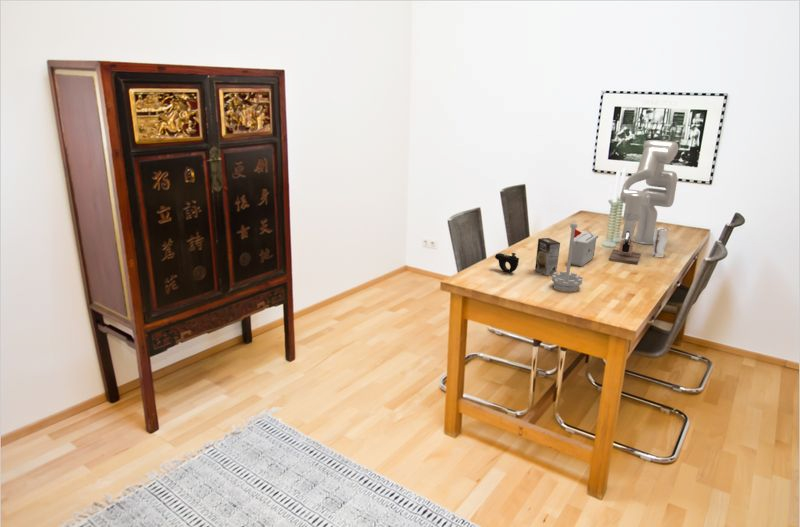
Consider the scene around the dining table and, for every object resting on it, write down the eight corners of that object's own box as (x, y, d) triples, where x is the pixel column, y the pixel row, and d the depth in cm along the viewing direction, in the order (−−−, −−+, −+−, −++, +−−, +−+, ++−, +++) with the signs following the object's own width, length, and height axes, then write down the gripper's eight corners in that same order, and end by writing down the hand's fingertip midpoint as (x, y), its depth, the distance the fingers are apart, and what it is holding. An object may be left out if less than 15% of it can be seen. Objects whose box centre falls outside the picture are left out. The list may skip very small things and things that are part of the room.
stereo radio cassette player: (580, 255, 296) (585, 218, 290) (595, 258, 292) (600, 221, 286) (566, 264, 280) (571, 226, 274) (583, 268, 276) (588, 229, 269)
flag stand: (563, 294, 240) (572, 227, 231) (545, 284, 251) (552, 220, 242) (587, 290, 245) (596, 224, 236) (568, 281, 256) (576, 217, 247)
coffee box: (534, 270, 270) (537, 238, 265) (545, 268, 273) (548, 237, 268) (545, 276, 262) (549, 243, 257) (556, 274, 265) (560, 242, 260)
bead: (620, 249, 296) (621, 240, 294) (632, 250, 293) (633, 241, 291) (619, 251, 290) (620, 242, 289) (631, 253, 288) (632, 244, 286)
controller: (514, 275, 262) (516, 255, 258) (492, 269, 270) (494, 249, 267) (519, 273, 264) (521, 253, 261) (497, 267, 273) (499, 248, 270)
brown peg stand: (613, 251, 304) (615, 238, 301) (640, 256, 298) (642, 242, 295) (608, 260, 288) (610, 246, 286) (637, 264, 282) (639, 250, 280)
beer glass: (665, 258, 294) (670, 231, 290) (651, 257, 296) (656, 230, 291) (662, 254, 301) (667, 227, 296) (649, 253, 302) (653, 227, 298)
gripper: (625, 212, 295) (620, 245, 300) (621, 219, 280) (616, 253, 286) (640, 214, 292) (635, 247, 297) (637, 221, 277) (631, 255, 283)
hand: (625, 249), depth 291 cm, fingers closed on bead, 6 cm apart
